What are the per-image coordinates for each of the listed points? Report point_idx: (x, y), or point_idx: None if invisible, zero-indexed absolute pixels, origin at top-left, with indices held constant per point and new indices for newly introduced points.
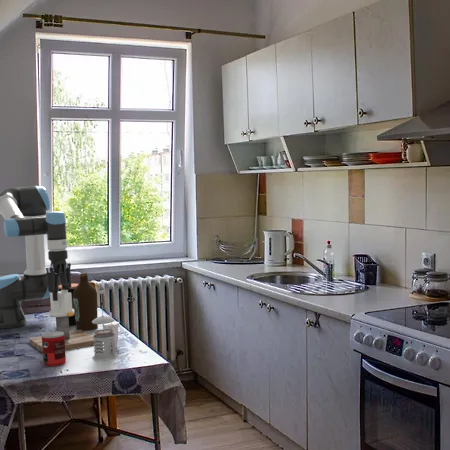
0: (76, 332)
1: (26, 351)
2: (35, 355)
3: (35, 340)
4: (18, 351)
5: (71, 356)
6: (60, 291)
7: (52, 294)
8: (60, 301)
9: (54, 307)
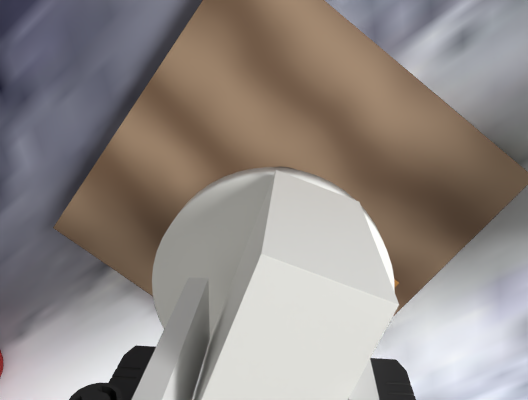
0: (450, 194)
1: (74, 73)
2: (28, 183)
3: (202, 35)
4: (58, 18)
5: (77, 364)
6: (350, 389)
7: (239, 301)
8: (194, 393)
9: (186, 289)
